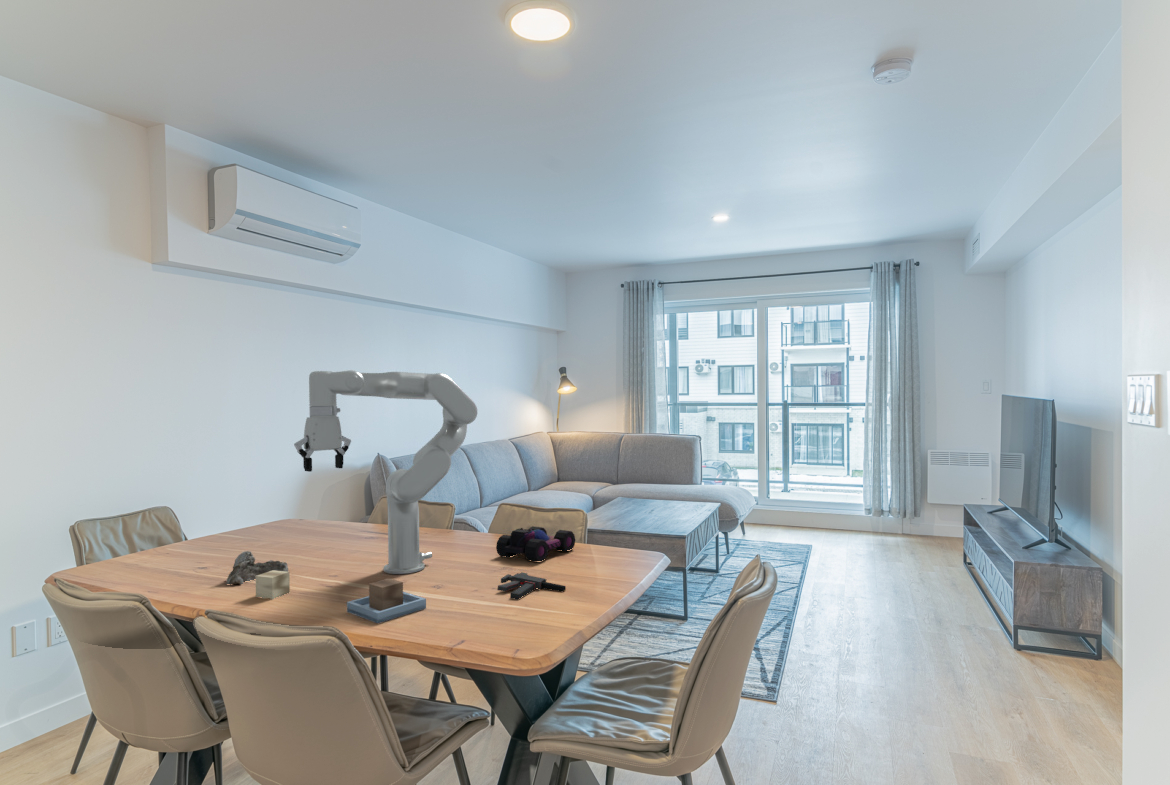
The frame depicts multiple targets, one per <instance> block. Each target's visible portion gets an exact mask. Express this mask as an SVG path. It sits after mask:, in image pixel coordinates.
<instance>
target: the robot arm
mask: <svg viewBox="0 0 1170 785" xmlns="http://www.w3.org/2000/svg"><path fill="white" fill-rule="evenodd" d="M308 376H309V377H308V389H309V390H308V393H309V395H308V397H309V400H308V401H309V405H308V406H309V417H306V419H305V425H304V432H303V437H302V438H301V439H300V440H298V441H296V442H295V443H294V444H293V445H294V447H295V449H296V451H297V453H298V454H299V455H300V456H301V458H303V461H302V462H303V463H302V464H303V469H304V472H313V459H312V457H311V456H312V455H313V453H315V452H319V451H334V452H335V453H336V454H335V456H334V466H335V467H334V468H336V469H343V467H344V455H346V452H347V451H348V450H349V447H350V445H351V443H352V440H351V439H350V438H348V437H346V436H344V435H342V426H341V422H340V417H339V416H338V413H340V412H341V408H340V407H338V405H337V394H339V395H341V396H349V397H350V396H353V397H355V396H356V397H375V398H376V397H377V398H378V397H380V398H385V399H397V400H398V399H399V400H400V399H401V400H426V401H427V400H428V401H431V400H432V401H433V400H434V401H436V402H437V403H438V404H439V406H441V407H442V418H443V420H442V426H441V428H440V430H439V431H438V432H437V433H436V434H435V435H434V436H433V437H432V438H431V439H430V440H428V442H427V443H425V444H424V446H422V447H421V448H420V449H419V450H418V451H417V452H416V453H415V454H414V456H413V460H412V464H413V465H412V466H411V467H410V468H409V469H404V468H400V469H399V468H398V469H396V470H395V471H392V472H391V473H390V474H389V475H388V477H387V478H386V479H387V480H386V482H385V495H386V506H387V542H388V543H387V552H388V553H387V554H388V555H387V556H388V563H387V564H385V565H383V567H382V569H383V572H384V573H386V574H390V575H405V574H407V575H408V574H413V573H416V572H420V571H423V569H424V568H425V565H426V564H425V562H424V561H425V560H428V559H432V557H433V553H432V552H431V551H428V552H420V510H419V509H420V508H419V501H420V500H422V499H423V498H425V496H426V495H428V493H430V491H432V490H433V488H435V486H436V485H438V483H439V482H441V481H442V479H444V478H445V477H446V475H448V473H449V471H450V468H451V467H452V466H451V465H452V458H451V457H452V456H453V455H454V454H455V453H456V452H457V450H458V449H459V448H460V447H461V446H462V444H463V443H464V441H465V440H466V437H467V436H466V435H467V432H468V430H467V429H468V425H469V424H471V423H473V422H474V421H475V420H476V418H477V417H478V408H477V405H476V403H475V402H474V401H473V399H472V398H471V397H470V396H469V395H468V394H467V393H466V392H465V391H464V390H463V389H462V388H461V387H460V386H459V385H458V384H457V383H456V382H455V381H454V380H453V379H452V378H451V377H450V376H448V375H447V374H444V373H442V372H441V373H440V372H439V373H438V372H437V373H425V372H424V373H423V372H407V371H406V372H405V371H387V372H358V371H356V370H352V369H350V370H342V371H330V370H320V371H319V370H315V371H311V372H310V374H309V375H308ZM343 443H344V444H343ZM342 445H343V446H342Z"/></svg>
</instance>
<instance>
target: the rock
mask: <svg viewBox="0 0 1170 785" xmlns="http://www.w3.org/2000/svg"><path fill="white" fill-rule="evenodd" d="M288 566H289V565H288V563H287V562H286V561H285V562H284V561H280V560H271V559H270V560H267V561H266V562H257V563H256V556H254V554H253V553H252V551H250V550H245V551H243V552H241V553H240V554H238V555H237V557H236V559H235V560H234V563H233V566H232V571H230V572H229V574H228V576H227V579H226V580H227V581H226V584H244V583H243V582H245V581H250V580H254V579H256V576H257V575H260V574H263V573H266V572H269V571H272V570H275V571H285V572H289V567H288ZM254 581H255V580H254ZM250 582H251V581H250ZM226 584H225V585H226Z"/></svg>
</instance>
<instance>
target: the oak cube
mask: <svg viewBox="0 0 1170 785" xmlns="http://www.w3.org/2000/svg"><path fill="white" fill-rule="evenodd" d="M290 580H291V579H290V571H288V572H285V571H275V570H272V571H269V572H266V573H263V574H260V575H257V576H256V580H255V598H256V597H262V598H261V599H265V598H270V599H269V600H275V599H277V598H276V597H278V598H280V597H283V596H285V595H284V594H286V595H288V594H290V593H289V592H291V591H290V590H291V589H290V588H291V587H290V582H291V581H290ZM287 593H288V594H287ZM282 595H283V596H282ZM279 596H280V597H279ZM274 598H275V599H274Z"/></svg>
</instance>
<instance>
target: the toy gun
mask: <svg viewBox="0 0 1170 785" xmlns="http://www.w3.org/2000/svg"><path fill="white" fill-rule="evenodd" d="M508 581H509V582H508ZM500 583H502V584H498V585H497V591H501V592H508V591H511V590H513V589H515V590H513V591H511V592H510V595H509V596H510V598H515V599H514V600H518V599H519V598H521V597H522V596H524V595H526V594H527V593H529V592H530V593H531V592H533V591H535V590H538V589H541V588H542V589H544V588H545V589H544V590H549V589H552V590H551V591H554V590H559V591H558V592H561V591H563V590H565V591H566V589H567V587H566V585H562V584H557V583H553V582H552V583H551V582H547V579H546V578H545V577H544V578H542V577H539V576H533V575H529V574H528V573H527V572H521V571H520V572H518V573H516V574H514V575H512V574H506V575H504V576H502V577H501V578H500ZM518 586H521V587H518ZM536 588H538V589H536ZM534 589H535V590H534ZM542 589H541V590H542ZM532 590H533V591H532ZM563 592H564V591H563ZM530 593H529V594H530ZM527 595H528V594H527ZM527 595H526V596H527ZM524 597H525V596H524ZM522 598H523V597H522ZM522 598H521V599H522ZM519 600H520V599H519Z"/></svg>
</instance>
